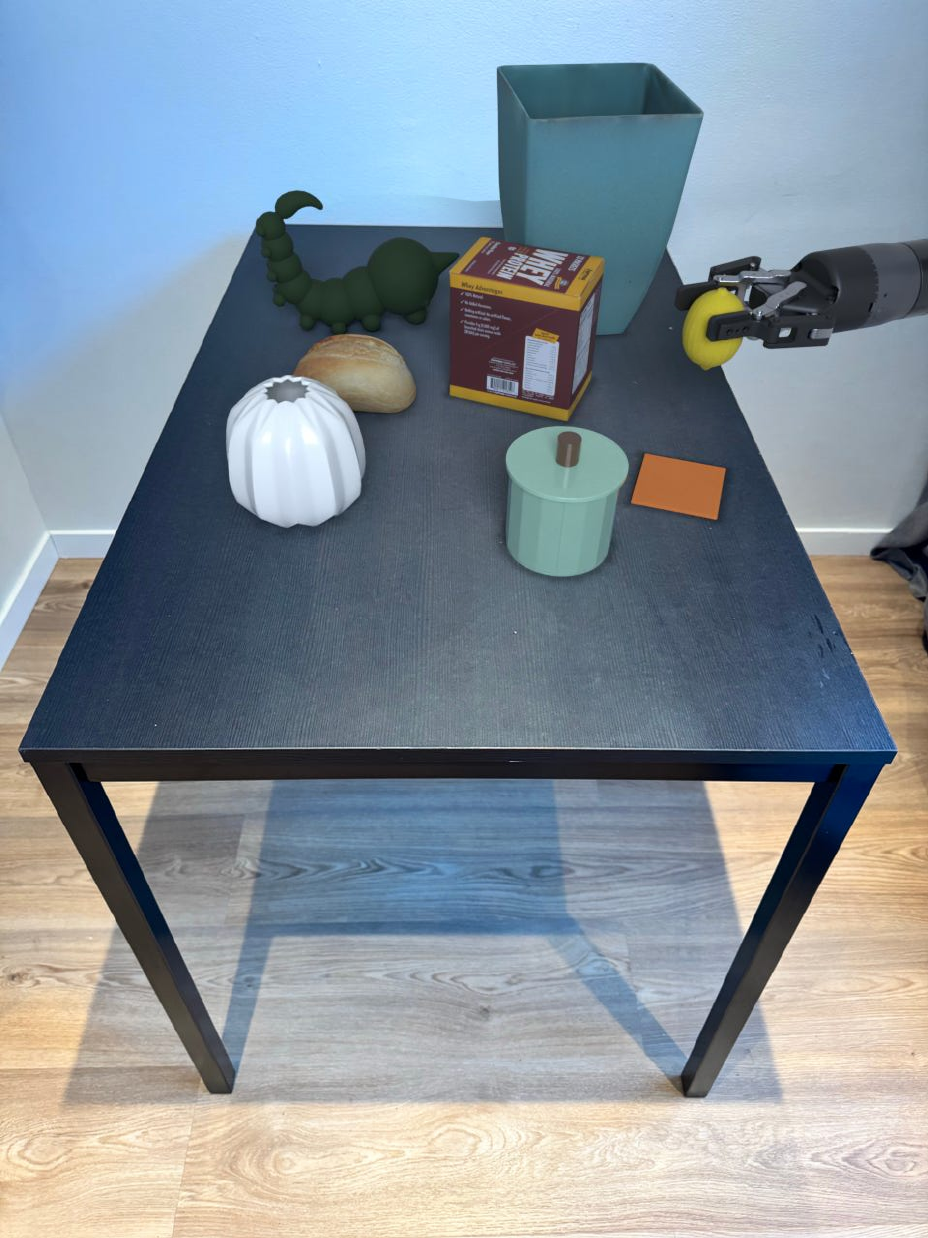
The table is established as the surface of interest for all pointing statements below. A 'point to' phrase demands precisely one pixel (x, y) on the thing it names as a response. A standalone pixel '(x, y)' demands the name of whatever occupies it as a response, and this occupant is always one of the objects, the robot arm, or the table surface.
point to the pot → (558, 532)
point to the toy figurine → (349, 275)
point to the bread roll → (361, 372)
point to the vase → (294, 452)
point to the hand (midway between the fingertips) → (693, 313)
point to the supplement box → (523, 326)
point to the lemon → (696, 327)
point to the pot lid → (567, 464)
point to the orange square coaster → (679, 486)
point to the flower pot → (595, 168)
